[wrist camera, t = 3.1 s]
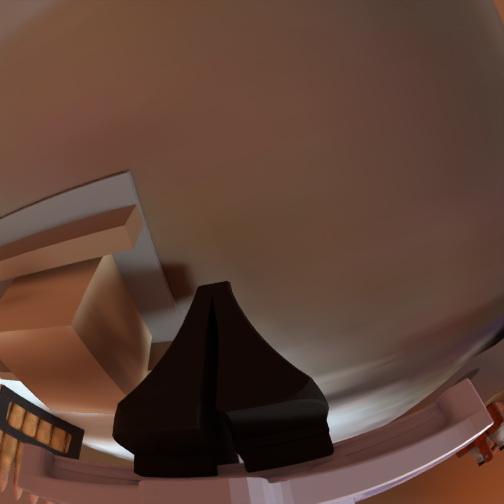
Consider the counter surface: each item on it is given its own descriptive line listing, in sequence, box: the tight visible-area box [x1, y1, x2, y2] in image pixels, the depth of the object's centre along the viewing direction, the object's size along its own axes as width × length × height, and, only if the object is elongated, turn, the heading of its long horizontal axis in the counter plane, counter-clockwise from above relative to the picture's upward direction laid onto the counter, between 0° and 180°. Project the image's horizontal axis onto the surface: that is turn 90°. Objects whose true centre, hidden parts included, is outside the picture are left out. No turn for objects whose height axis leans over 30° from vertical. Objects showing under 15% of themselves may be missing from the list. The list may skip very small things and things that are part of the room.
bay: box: [0, 170, 183, 381], centre depth 12 cm, size 12×18×2 cm, turn 98°
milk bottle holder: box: [456, 401, 504, 466], centre depth 58 cm, size 21×35×19 cm, turn 56°
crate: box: [0, 254, 152, 414], centre depth 11 cm, size 6×6×5 cm
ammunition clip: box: [0, 385, 85, 504], centre depth 15 cm, size 11×2×12 cm, turn 42°
